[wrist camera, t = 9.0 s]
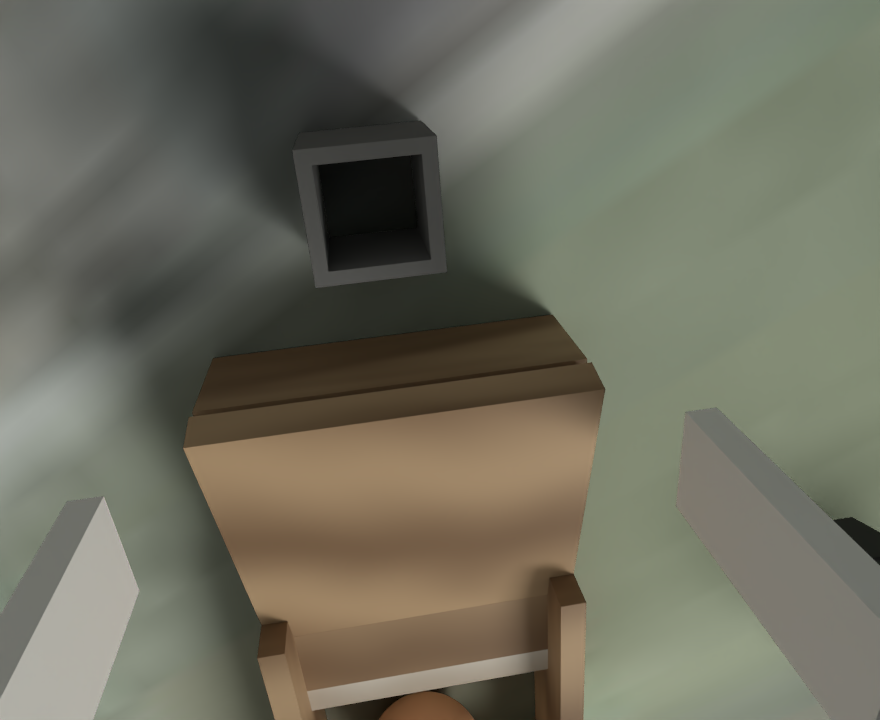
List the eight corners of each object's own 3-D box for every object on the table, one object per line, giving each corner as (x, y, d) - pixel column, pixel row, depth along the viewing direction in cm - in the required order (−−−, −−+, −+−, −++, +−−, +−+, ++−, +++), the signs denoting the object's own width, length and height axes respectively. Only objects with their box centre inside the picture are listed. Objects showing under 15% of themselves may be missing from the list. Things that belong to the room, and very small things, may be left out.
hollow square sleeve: (299, 132, 17) (292, 149, 14) (420, 120, 17) (436, 135, 14) (318, 251, 18) (315, 287, 15) (430, 238, 18) (447, 272, 16)
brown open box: (212, 356, 19) (180, 438, 15) (552, 312, 20) (605, 379, 16) (321, 781, 28) (319, 903, 24) (553, 737, 29) (588, 848, 25)
